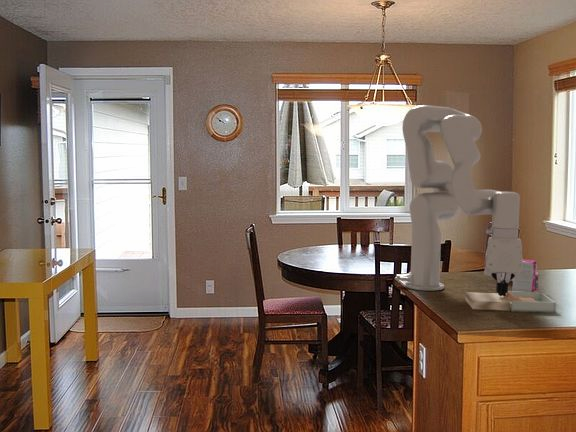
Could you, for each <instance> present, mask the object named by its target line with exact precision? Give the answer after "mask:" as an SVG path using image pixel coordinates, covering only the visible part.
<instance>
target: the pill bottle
mask: <svg viewBox="0 0 576 432" xmlns="http://www.w3.org/2000/svg"><path fill="white" fill-rule="evenodd" d="M537 270H538V264H536V272H535V285H534V292H539V290H538V289H539V276H540V275H539V272H538V271H537Z"/></svg>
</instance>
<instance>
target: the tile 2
mask: <svg viewBox="0 0 576 432" xmlns="http://www.w3.org/2000/svg"><path fill="white" fill-rule="evenodd" d="M518 299H520V300H521V301H535V300H534V299H533V298H523V297H518ZM535 302H536V301H535Z"/></svg>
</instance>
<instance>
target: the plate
mask: <svg viewBox="0 0 576 432" xmlns="http://www.w3.org/2000/svg"><path fill="white" fill-rule="evenodd" d="M465 301H466V303H467V304H468V305H469V307H470V308H471V309H472V310H484V311H486V310H488V311H509V312H510V311H511V310H510V302H509V301H508V300H507V299H506V298H505V297H504V296H499V295H498V293H497V292H496V293H495V292H493V293H492V292H471V291H465Z"/></svg>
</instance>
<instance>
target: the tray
mask: <svg viewBox="0 0 576 432" xmlns="http://www.w3.org/2000/svg"><path fill="white" fill-rule="evenodd" d="M508 292H509V293H511V294H512V295H514V296H516V297H517V298H518V297H523V298H533V299H534V300H535V301H536V302H535V301H512V302H511V301H509V300H508V301H509V302H510V311H511V312H515V313H517V312H518V313H546V314H556V310H557V302H556V301H554V299H551V298H550V297H549V296H548V295H546V294H545V293H543V292H540V291H537V292H518V291H512V290H510V291H509V290H508Z"/></svg>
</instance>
